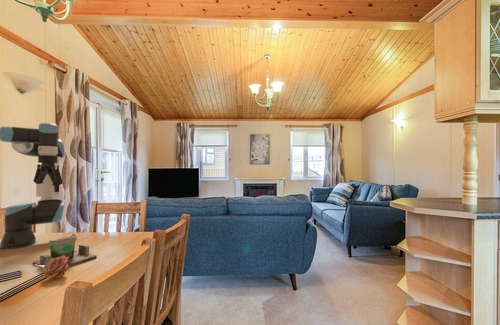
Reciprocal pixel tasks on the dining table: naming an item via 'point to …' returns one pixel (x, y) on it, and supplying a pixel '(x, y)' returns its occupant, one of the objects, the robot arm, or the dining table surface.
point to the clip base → (77, 259)
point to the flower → (56, 267)
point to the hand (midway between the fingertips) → (47, 197)
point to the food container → (63, 247)
